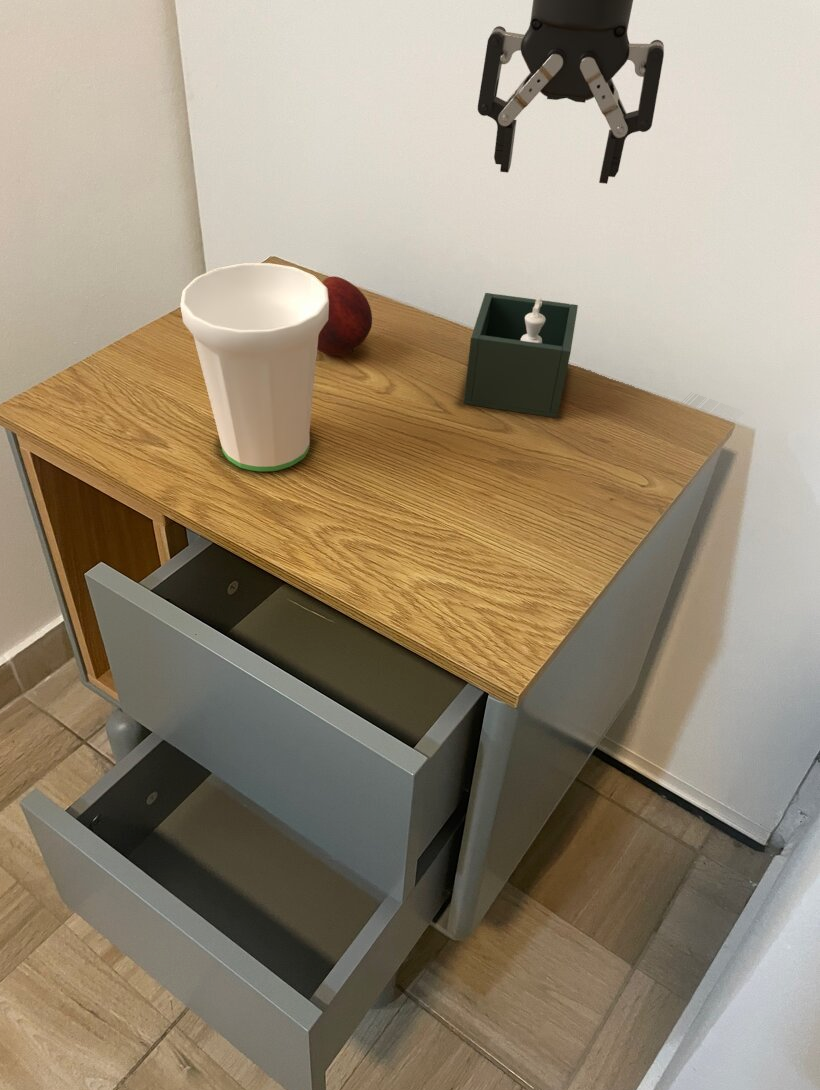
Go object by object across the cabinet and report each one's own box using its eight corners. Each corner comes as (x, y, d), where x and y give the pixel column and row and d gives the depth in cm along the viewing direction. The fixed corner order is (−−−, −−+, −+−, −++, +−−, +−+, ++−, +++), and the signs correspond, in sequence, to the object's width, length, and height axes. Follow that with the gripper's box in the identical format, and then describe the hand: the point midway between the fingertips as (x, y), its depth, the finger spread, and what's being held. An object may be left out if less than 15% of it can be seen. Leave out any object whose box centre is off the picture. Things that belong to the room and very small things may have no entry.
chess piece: (493, 395, 90) (506, 304, 83) (507, 372, 94) (521, 282, 86) (539, 406, 89) (556, 315, 82) (552, 383, 92) (570, 293, 85)
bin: (564, 369, 95) (578, 304, 90) (557, 418, 89) (570, 351, 83) (477, 356, 97) (485, 292, 91) (463, 403, 90) (470, 337, 85)
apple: (326, 326, 101) (326, 258, 95) (384, 346, 98) (387, 277, 92) (289, 354, 96) (286, 284, 90) (349, 375, 93) (349, 305, 88)
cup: (176, 437, 85) (152, 287, 74) (282, 395, 90) (274, 249, 80) (247, 503, 78) (232, 348, 67) (357, 453, 84) (359, 302, 73)
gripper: (488, -52, 63) (466, 182, 75) (691, -38, 61) (636, 200, 73) (502, -70, 68) (479, 151, 80) (689, -57, 66) (638, 168, 78)
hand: (554, 174), depth 76 cm, fingers open, 8 cm apart
